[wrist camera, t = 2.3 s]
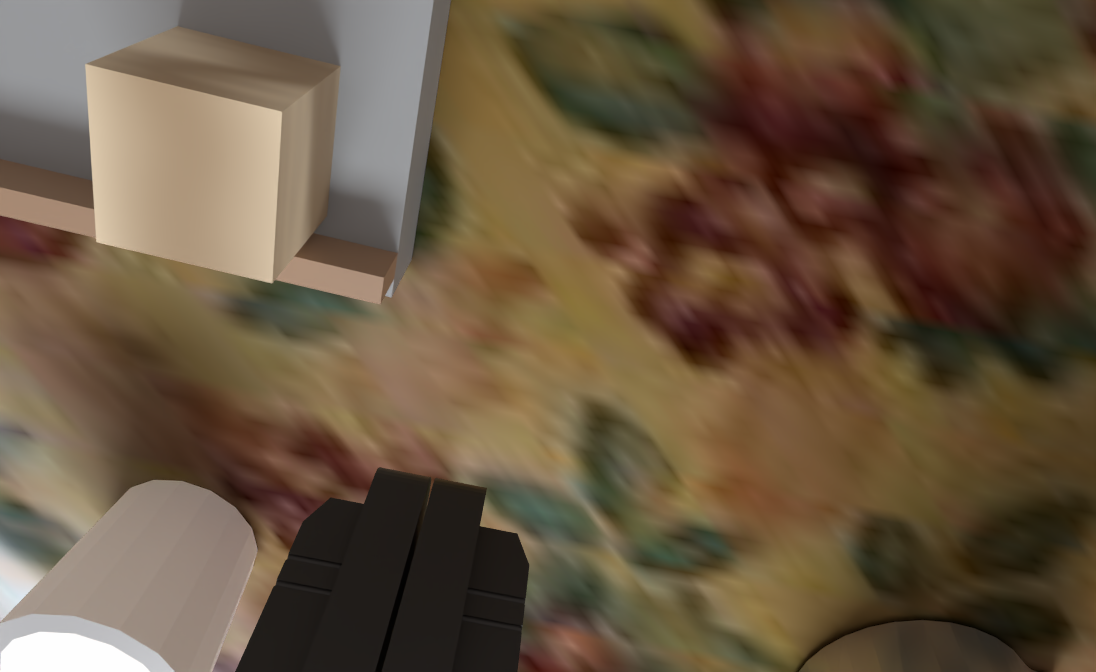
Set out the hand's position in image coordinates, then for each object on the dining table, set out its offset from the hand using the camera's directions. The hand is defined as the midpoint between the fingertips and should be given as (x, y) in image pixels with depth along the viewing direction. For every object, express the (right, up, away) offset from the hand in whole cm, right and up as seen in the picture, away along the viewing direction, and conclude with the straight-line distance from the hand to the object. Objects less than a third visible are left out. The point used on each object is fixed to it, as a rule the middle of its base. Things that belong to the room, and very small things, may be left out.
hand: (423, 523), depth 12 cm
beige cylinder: (-12, -5, +21) cm, 25 cm away
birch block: (-6, +8, +10) cm, 14 cm away
